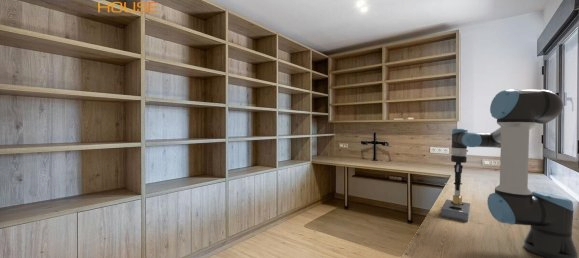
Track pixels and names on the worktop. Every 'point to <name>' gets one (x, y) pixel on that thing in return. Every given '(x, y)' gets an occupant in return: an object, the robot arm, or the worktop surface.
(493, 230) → the worktop surface
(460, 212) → the block
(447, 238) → the worktop surface
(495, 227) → the worktop surface
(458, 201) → the brass sleeve
